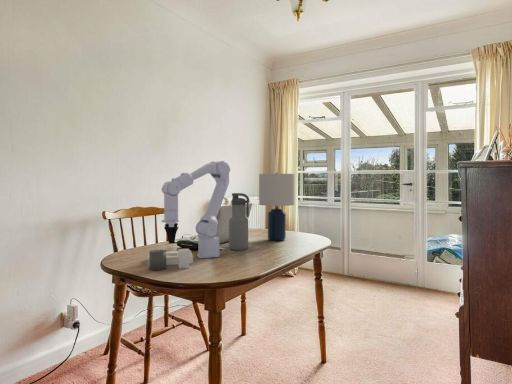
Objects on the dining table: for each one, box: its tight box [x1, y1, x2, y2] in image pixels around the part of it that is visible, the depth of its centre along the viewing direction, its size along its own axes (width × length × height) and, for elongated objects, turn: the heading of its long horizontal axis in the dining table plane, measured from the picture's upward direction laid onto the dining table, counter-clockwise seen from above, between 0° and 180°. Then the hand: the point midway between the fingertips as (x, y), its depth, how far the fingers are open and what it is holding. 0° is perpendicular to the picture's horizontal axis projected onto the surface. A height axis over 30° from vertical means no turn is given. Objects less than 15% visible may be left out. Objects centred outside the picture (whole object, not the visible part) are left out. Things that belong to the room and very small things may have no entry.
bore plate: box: [147, 249, 194, 267], centre depth 145 cm, size 18×12×3 cm, turn 105°
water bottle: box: [228, 192, 250, 251], centre depth 172 cm, size 10×10×28 cm
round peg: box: [148, 249, 167, 272], centre depth 133 cm, size 6×6×7 cm
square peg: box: [177, 248, 191, 270], centre depth 136 cm, size 4×4×7 cm
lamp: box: [258, 172, 296, 242], centre depth 196 cm, size 20×20×39 cm
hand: (171, 241), depth 144 cm, fingers open, 7 cm apart
